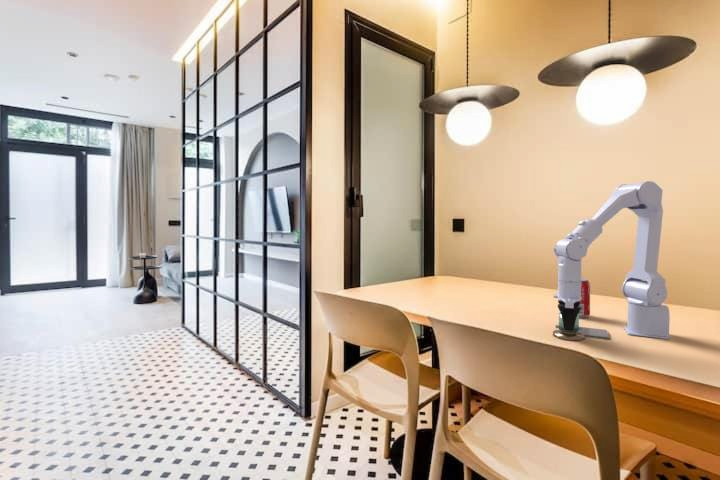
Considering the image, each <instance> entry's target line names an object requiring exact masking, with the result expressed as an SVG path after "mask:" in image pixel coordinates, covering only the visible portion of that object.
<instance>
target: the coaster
mask: <svg viewBox="0 0 720 480" xmlns="http://www.w3.org/2000/svg"><path fill="white" fill-rule="evenodd" d="M579 328H582V331H578V332H580V333H582V334H584V335H585V338H593V339H600V340H601V339H602V340H610V338H611V337H610V335H609V333H608V330H607V329H601V328H592V327H583V326H579Z"/></svg>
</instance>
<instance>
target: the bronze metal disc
mask: <svg viewBox="0 0 720 480" xmlns="http://www.w3.org/2000/svg"><path fill="white" fill-rule="evenodd" d="M552 336H553V337H554V338H556V339H558V340H562V341H569V342H581V341H584V340H586V339H585V338H586V337H585V335H584V334H582V333H580V332H565V331H561V330H559V329H555V330H553V331H552Z"/></svg>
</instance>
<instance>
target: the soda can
mask: <svg viewBox="0 0 720 480" xmlns="http://www.w3.org/2000/svg"><path fill="white" fill-rule="evenodd" d="M581 297H582V300H580V305H579V306H578V307H581V310H580V312H579V313H578V315H579V319H584V318H585V319H586V318H589V316H590V315H591V283H590V282H589V279H588V278H584V277H581Z"/></svg>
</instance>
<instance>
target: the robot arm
mask: <svg viewBox="0 0 720 480" xmlns="http://www.w3.org/2000/svg"><path fill="white" fill-rule="evenodd" d="M662 200H663V189H662V188H661V187H660V186H659V185H658V184H657V183H656V182H655V181H651V180H648V181H644V182H634V183H628V184H627V183H623V184H620V185H618V186H617V187H616V188H615V190H613V191H612V192H611V193H610V197H609V198H608V199H607V201H606V202H604V204H603V205H602V206H601V207H600V209H599V210H598V211H596V213H595V214H594V215H593V216H592V218H587V219H584V220H580V221H579V222H578V223H577V224H578V226H576V227H575V228H574V230H572V232H570V233H568V234H567V235H566V238H562V239H559V240H558V241H557V243H556V245H555V247H554V248H553V252H554V254H555V256H556V258H557V262H558V264H557V265H558V267H557V269H558V270H557V275H558V277H557V293H556V294H553V295H552V297H553V298H554V299H558V300H557V301H558V302H557V308H558V311H559V313H561V315H562V320H563V326H564V330H568V331H573V329H574V326H575V321H576V317H577V315H578V313H579V312H580V310H581V307H578V306H579V305H580V300H582V297H581V278H582V259H583V258H584V257H586V256H587V253H588V248H589V247H590V245H592V244H593V242H594V241H595V240H596V239H597V238H599V237H600V235H601V234H603V226H605V225H606V223H608V222H610V220H611V219H613V218H614V217H615V216H616V215H617V214H618V213H619V212H620V211H621V210H623V209H625V208H626V209H627V210H630V211H632V212H633V213H634V214H635V215H637V218H638V219H637V225H636V226H637V229H636V236H635V237H636V238H635V248H634V259H633V268H632V269H631V270H629V271H628V273H626V274H625V280H624V281H623V283H622V285H621V292H622V295H623V296H624V297H625V298H626V299H625V300H626V302H627V325H625V326H623V328H624V330H625V331H626V334H627V335H630V336H638V337H639V336H640V337H647V338H648V337H649V338H657V339H662V340H663V339H665V340H669V339H670V323H671V322H670V318H671V317H670V308H669V306H668V305H666V304H663V303H664V302H665V301H666V300H667V297H668V290H667V287H666V279H665V277H663V276H662V274H660V273H659V272H658V265H659V264H658V263H659V255H660V244H661V235H662V224H663V213H664V207H663V204H662Z"/></svg>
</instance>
